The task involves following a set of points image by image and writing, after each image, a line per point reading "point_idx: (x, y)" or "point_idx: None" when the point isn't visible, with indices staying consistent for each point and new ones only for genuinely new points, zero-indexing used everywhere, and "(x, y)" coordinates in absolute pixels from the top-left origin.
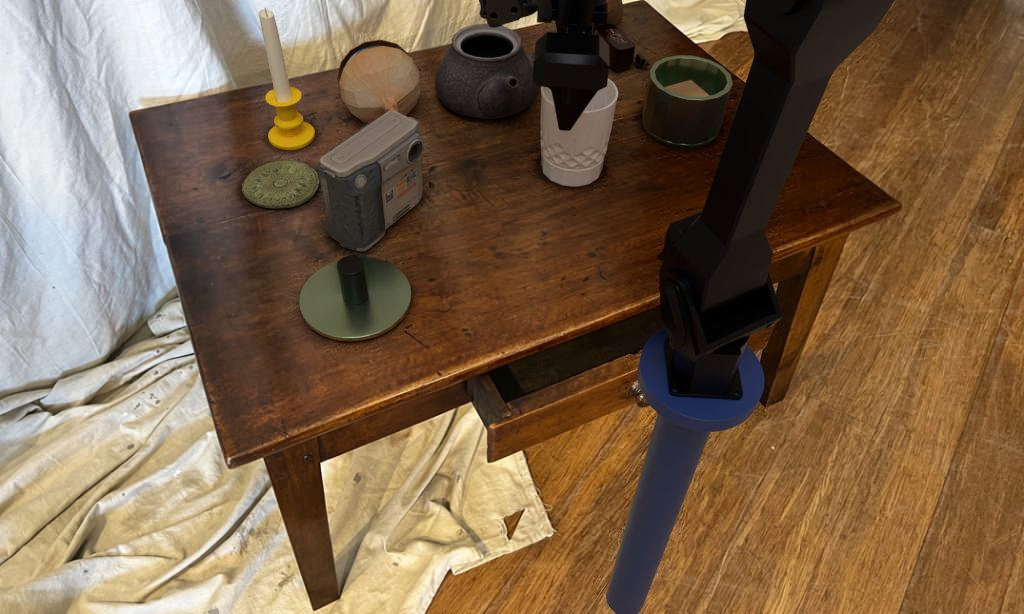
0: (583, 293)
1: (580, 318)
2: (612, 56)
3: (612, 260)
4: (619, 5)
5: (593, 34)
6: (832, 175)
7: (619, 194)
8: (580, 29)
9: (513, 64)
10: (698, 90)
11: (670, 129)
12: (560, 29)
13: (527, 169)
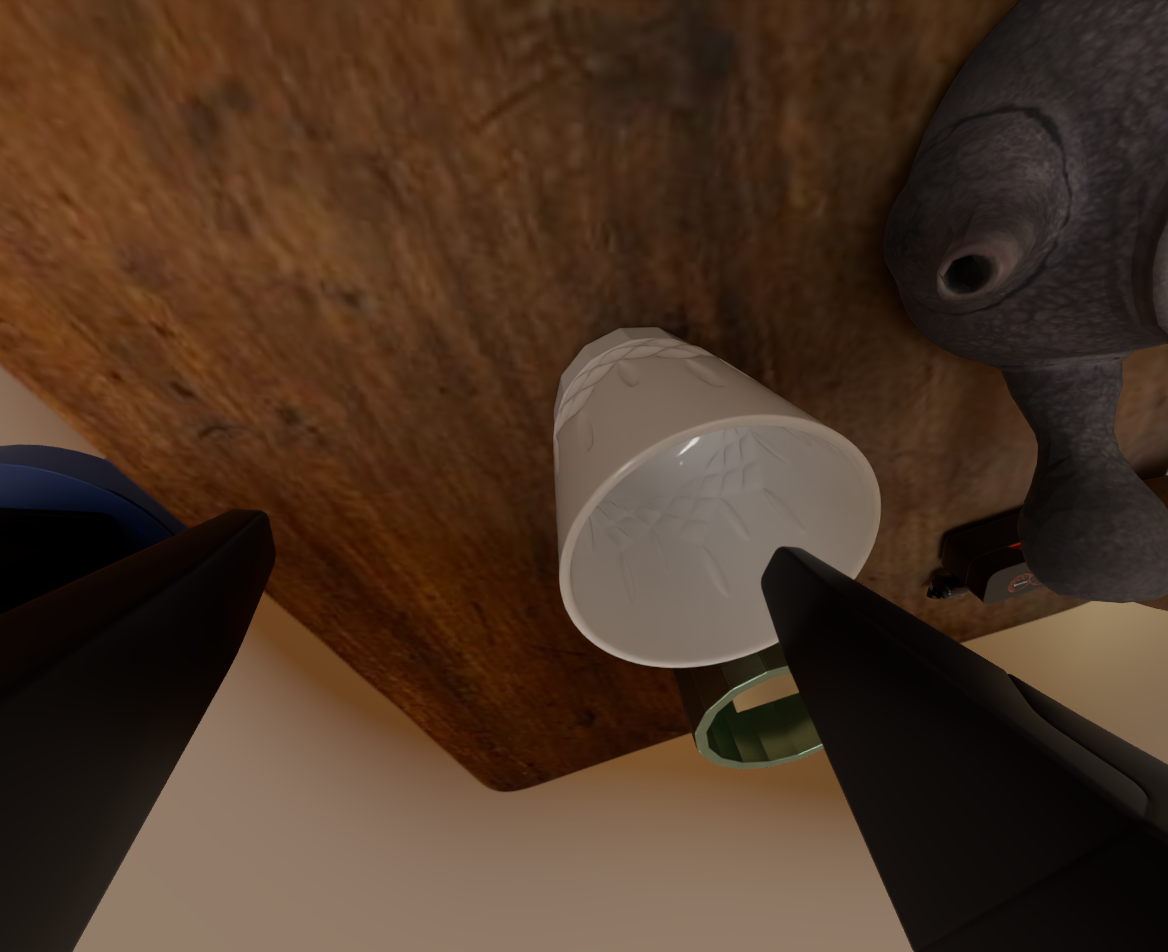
0: (119, 378)
1: (6, 358)
2: (987, 547)
3: (279, 459)
4: (1144, 604)
5: (895, 904)
6: (564, 762)
7: (526, 498)
8: (980, 912)
9: (1099, 293)
10: (765, 698)
11: None
12: (1090, 827)
13: (646, 282)
